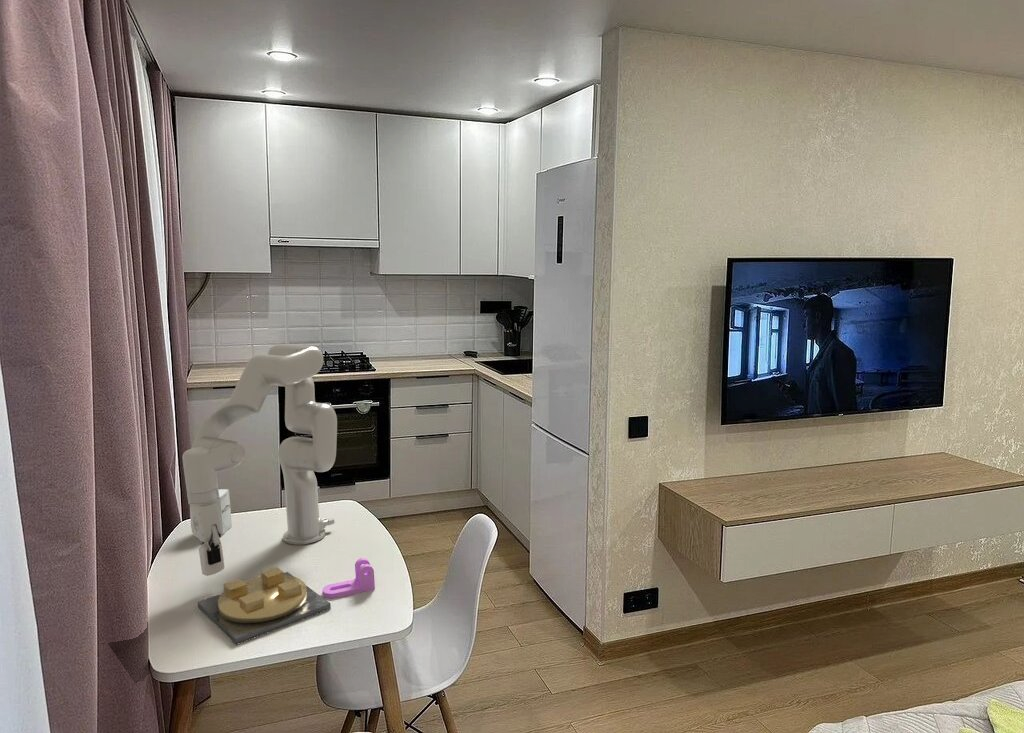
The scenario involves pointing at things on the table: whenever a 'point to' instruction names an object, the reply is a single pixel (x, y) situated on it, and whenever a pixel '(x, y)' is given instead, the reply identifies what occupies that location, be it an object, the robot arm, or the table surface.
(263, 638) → the table surface
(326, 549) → the table surface
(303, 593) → the plate with cheese cubes
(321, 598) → the dark grey square slab
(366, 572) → the bracket
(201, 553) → the eye dropper bottle
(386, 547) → the table surface
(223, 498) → the supplement box
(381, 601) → the table surface
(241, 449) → the robot arm
